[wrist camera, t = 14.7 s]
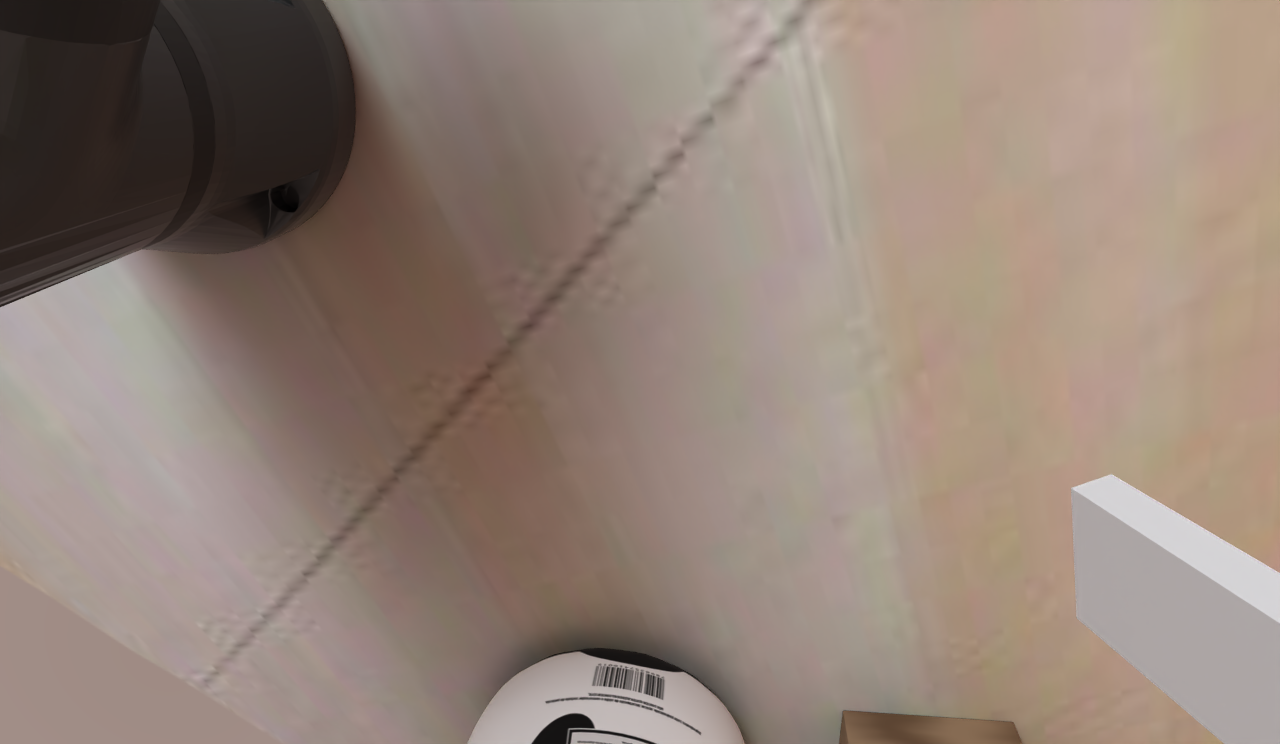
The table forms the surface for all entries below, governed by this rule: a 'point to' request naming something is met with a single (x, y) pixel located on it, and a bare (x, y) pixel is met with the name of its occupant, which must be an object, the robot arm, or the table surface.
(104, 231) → the robot arm
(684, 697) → the milk container
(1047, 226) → the table surface
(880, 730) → the walnut block
